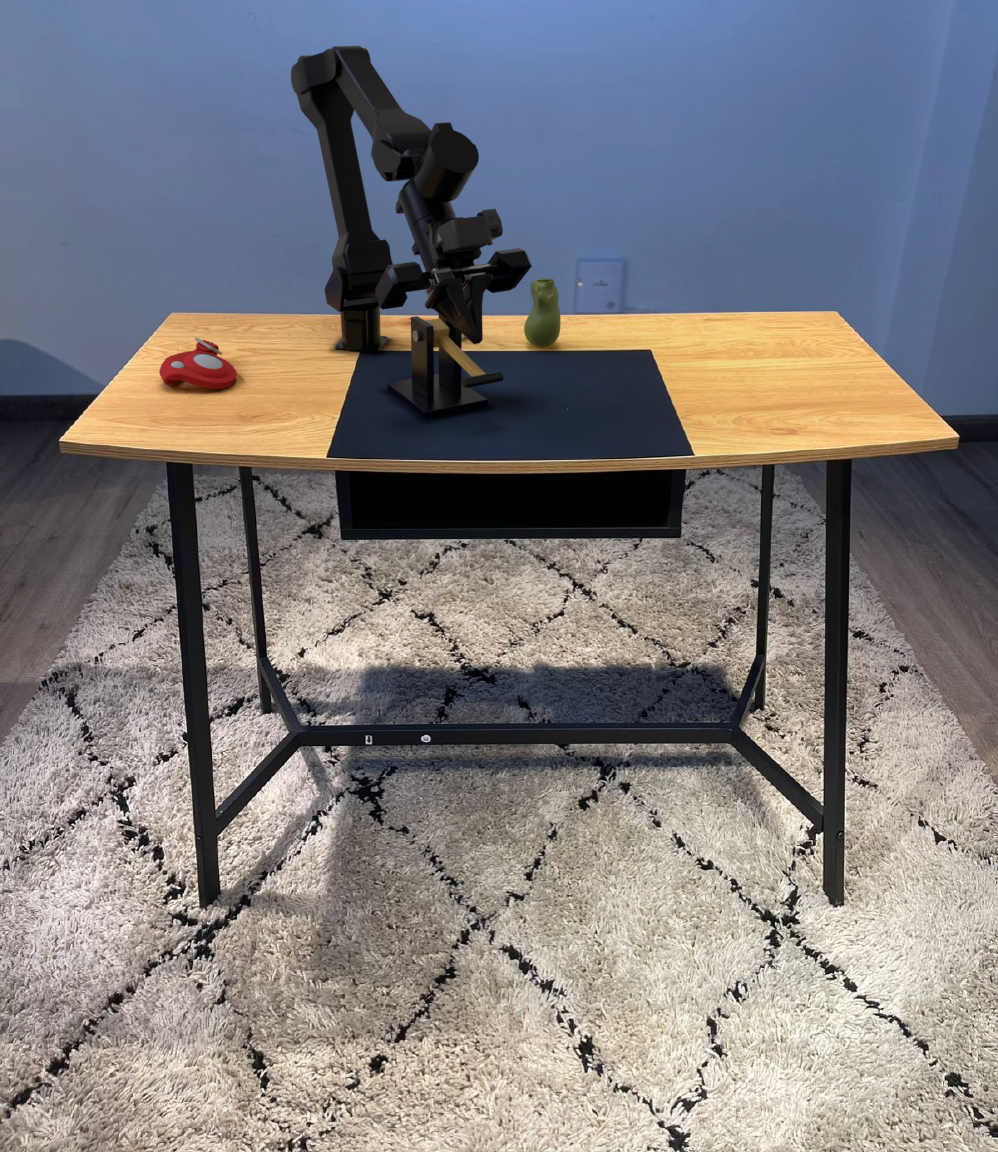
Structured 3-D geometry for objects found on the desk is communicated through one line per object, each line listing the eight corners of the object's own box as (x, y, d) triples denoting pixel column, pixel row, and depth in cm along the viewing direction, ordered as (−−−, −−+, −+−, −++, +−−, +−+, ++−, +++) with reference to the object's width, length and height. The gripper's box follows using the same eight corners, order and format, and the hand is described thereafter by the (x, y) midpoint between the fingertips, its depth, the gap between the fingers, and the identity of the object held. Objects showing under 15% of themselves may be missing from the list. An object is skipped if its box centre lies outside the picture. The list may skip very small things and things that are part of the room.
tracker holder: (250, 377, 135) (175, 373, 129) (242, 406, 138) (169, 403, 132) (219, 331, 142) (148, 325, 137) (213, 358, 145) (142, 354, 139)
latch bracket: (487, 408, 132) (489, 326, 126) (425, 421, 128) (424, 337, 122) (446, 380, 140) (446, 302, 134) (387, 391, 136) (384, 311, 130)
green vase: (563, 351, 151) (567, 283, 146) (528, 353, 150) (531, 285, 145) (553, 338, 156) (556, 273, 150) (519, 340, 154) (522, 274, 149)
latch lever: (502, 387, 123) (504, 369, 122) (466, 394, 121) (468, 376, 119) (447, 333, 132) (449, 316, 130) (412, 339, 130) (414, 322, 128)
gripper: (382, 191, 111) (430, 320, 109) (527, 178, 119) (574, 297, 117) (355, 247, 121) (399, 366, 119) (491, 231, 129) (533, 342, 127)
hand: (478, 342), depth 120 cm, fingers closed
